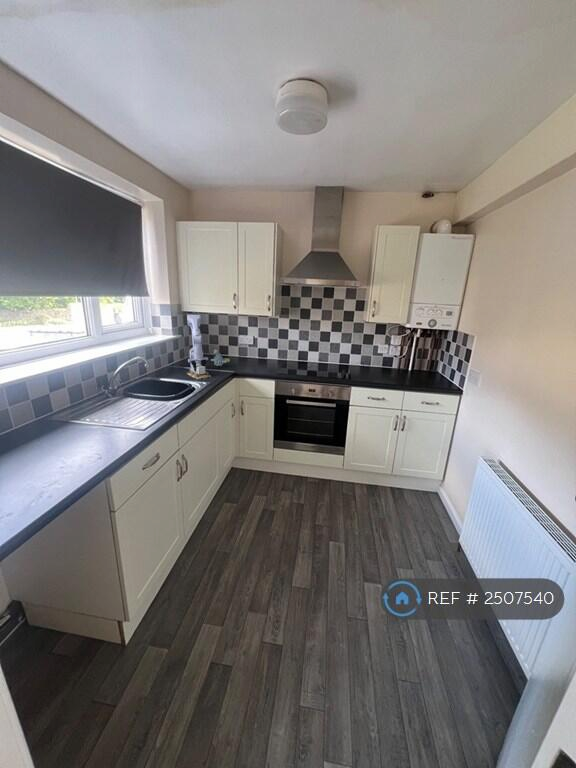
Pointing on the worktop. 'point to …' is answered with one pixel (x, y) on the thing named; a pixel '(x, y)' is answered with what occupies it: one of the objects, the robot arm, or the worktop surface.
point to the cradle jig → (198, 375)
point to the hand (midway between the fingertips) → (198, 370)
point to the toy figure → (219, 359)
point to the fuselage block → (199, 369)
